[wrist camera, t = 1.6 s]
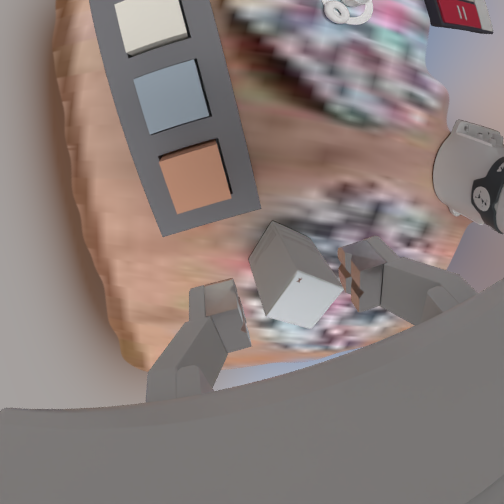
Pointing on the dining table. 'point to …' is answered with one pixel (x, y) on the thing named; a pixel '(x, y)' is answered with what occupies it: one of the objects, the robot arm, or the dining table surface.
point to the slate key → (171, 96)
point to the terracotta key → (195, 176)
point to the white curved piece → (345, 16)
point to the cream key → (149, 24)
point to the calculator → (460, 15)
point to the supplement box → (292, 277)
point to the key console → (211, 127)
